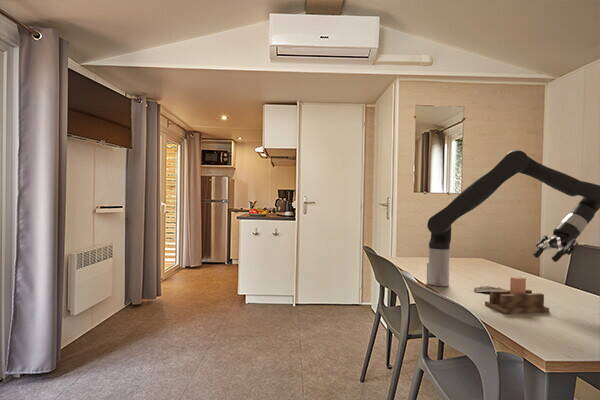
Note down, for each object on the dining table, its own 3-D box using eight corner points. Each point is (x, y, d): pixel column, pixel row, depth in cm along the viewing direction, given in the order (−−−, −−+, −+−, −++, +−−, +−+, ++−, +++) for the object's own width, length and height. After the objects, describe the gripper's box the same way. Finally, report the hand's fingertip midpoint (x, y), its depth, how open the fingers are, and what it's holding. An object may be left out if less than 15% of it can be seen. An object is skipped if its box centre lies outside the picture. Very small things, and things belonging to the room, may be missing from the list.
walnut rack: (505, 314, 132) (505, 297, 132) (484, 305, 143) (485, 289, 143) (549, 312, 135) (549, 295, 135) (525, 303, 146) (526, 288, 146)
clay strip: (514, 305, 138) (515, 278, 137) (509, 303, 140) (510, 277, 140) (525, 305, 138) (525, 278, 138) (520, 303, 141) (520, 277, 141)
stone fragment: (471, 291, 168) (476, 296, 159) (471, 284, 168) (476, 290, 159) (533, 294, 163) (542, 300, 153) (533, 288, 163) (542, 293, 153)
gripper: (549, 219, 149) (523, 248, 147) (581, 222, 135) (554, 254, 133) (560, 233, 150) (534, 261, 148) (593, 236, 136) (566, 268, 134)
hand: (544, 258), depth 141 cm, fingers open, 8 cm apart
